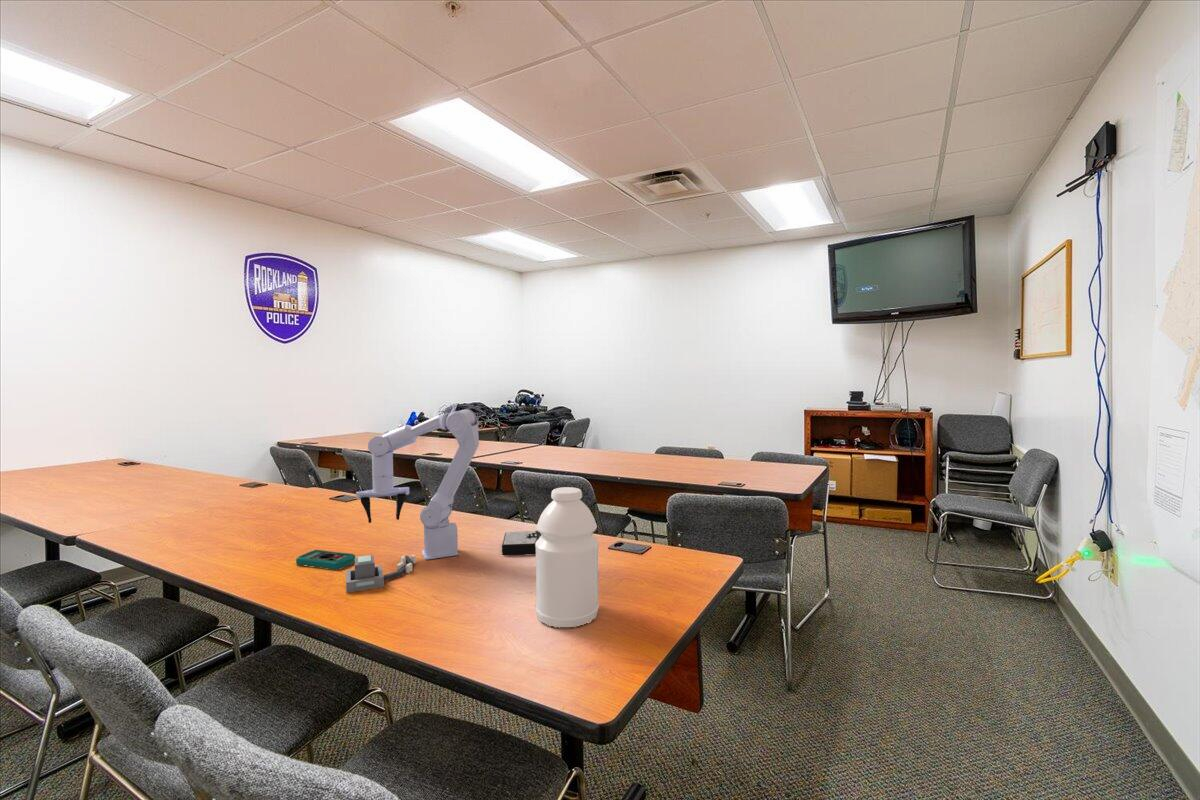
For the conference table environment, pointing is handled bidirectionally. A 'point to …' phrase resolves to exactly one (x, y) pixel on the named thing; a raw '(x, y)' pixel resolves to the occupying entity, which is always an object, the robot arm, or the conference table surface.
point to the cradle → (364, 580)
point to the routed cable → (402, 567)
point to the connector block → (364, 567)
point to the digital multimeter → (326, 559)
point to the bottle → (566, 561)
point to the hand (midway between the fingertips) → (383, 520)
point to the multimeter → (520, 542)
